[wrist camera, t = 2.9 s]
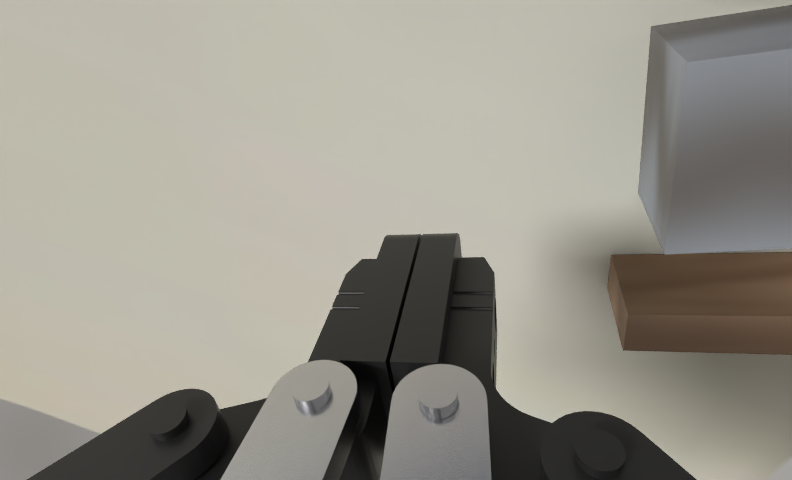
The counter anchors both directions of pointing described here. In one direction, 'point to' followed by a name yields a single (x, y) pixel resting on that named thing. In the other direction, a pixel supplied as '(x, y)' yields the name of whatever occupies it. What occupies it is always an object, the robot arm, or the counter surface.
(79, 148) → the counter surface
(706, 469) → the counter surface
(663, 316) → the track
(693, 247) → the block
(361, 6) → the counter surface
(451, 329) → the robot arm
